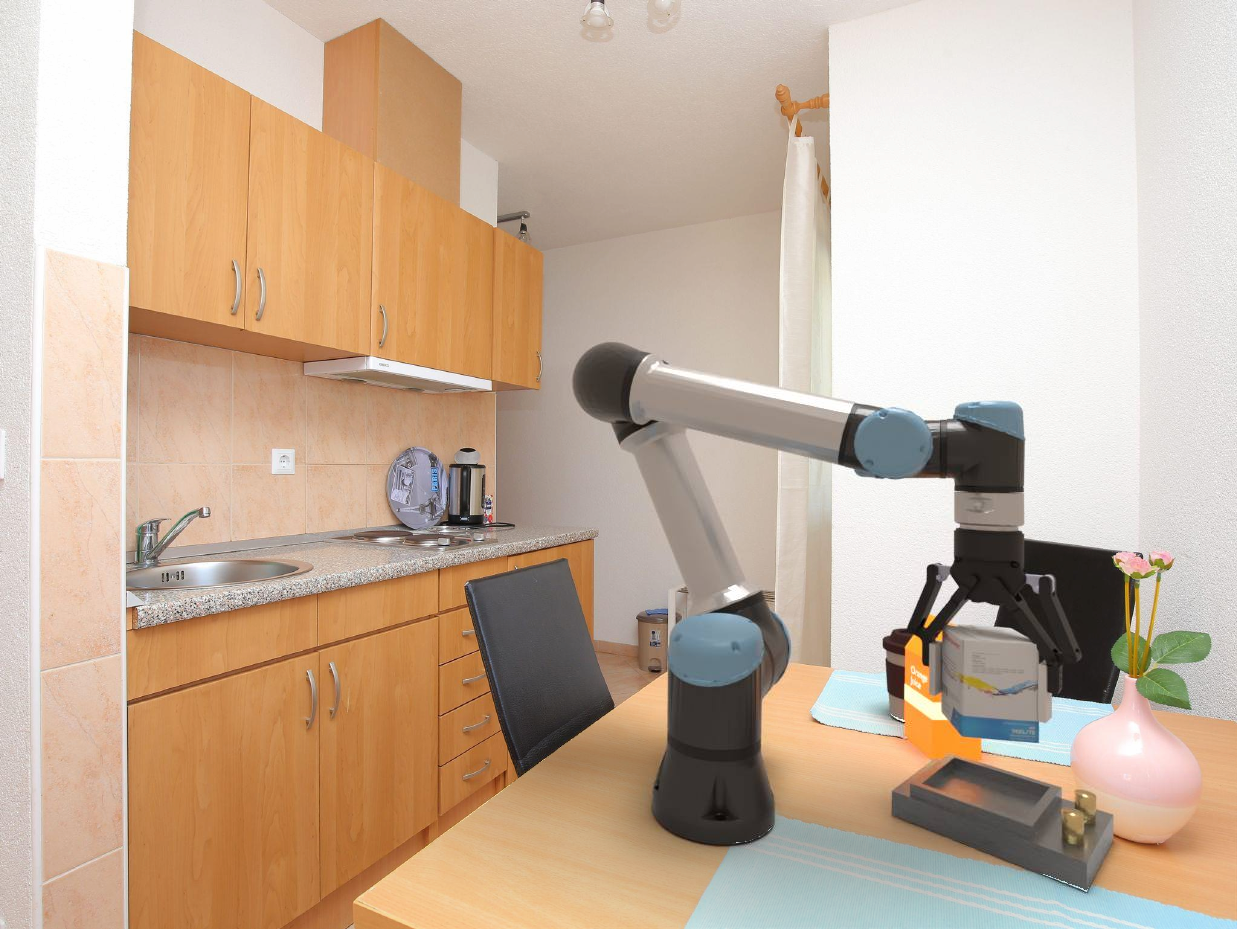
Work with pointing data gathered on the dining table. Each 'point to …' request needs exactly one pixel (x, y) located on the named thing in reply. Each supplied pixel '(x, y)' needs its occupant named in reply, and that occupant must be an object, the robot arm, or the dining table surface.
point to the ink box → (990, 683)
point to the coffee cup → (896, 669)
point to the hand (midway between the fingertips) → (987, 705)
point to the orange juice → (930, 711)
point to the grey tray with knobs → (1008, 817)
